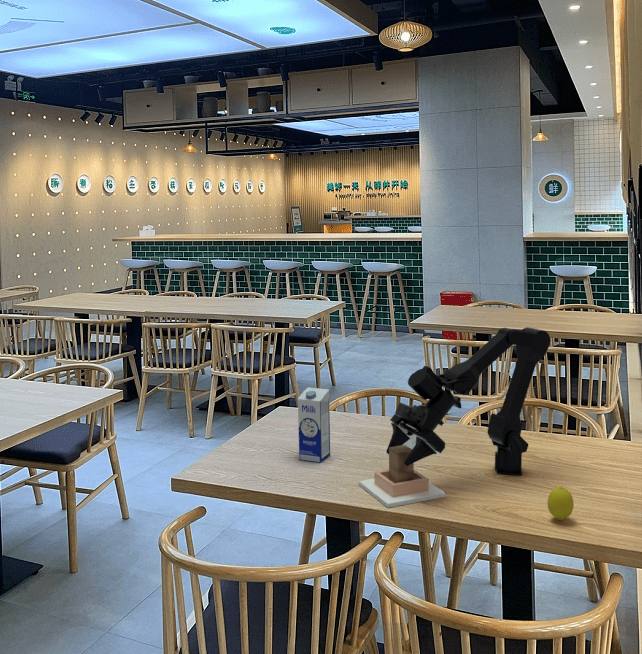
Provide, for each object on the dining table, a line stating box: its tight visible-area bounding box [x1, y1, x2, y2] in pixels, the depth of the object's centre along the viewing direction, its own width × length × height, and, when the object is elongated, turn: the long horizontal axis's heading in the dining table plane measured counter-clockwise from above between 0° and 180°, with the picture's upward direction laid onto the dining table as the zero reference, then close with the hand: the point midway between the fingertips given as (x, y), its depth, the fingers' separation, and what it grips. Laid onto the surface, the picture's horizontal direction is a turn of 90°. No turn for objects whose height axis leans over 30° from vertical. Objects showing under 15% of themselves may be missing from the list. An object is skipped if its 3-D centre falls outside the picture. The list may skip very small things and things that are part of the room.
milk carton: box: [297, 387, 331, 464], centre depth 202 cm, size 7×7×20 cm
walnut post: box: [388, 445, 415, 483], centre depth 177 cm, size 4×4×10 cm
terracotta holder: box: [358, 469, 447, 509], centre depth 178 cm, size 16×16×4 cm
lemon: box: [547, 486, 574, 521], centre depth 159 cm, size 6×6×8 cm
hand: (396, 458), depth 176 cm, fingers open, 9 cm apart
